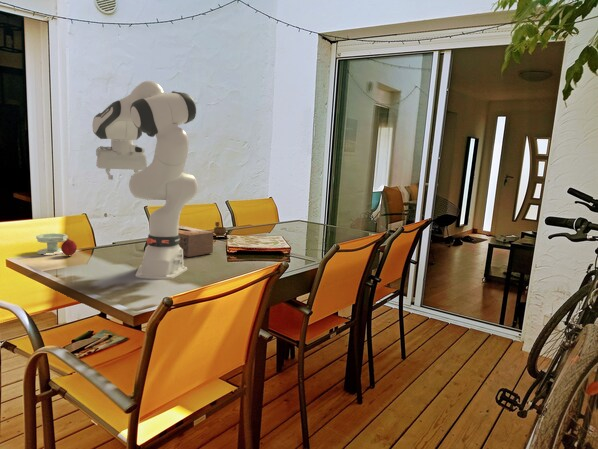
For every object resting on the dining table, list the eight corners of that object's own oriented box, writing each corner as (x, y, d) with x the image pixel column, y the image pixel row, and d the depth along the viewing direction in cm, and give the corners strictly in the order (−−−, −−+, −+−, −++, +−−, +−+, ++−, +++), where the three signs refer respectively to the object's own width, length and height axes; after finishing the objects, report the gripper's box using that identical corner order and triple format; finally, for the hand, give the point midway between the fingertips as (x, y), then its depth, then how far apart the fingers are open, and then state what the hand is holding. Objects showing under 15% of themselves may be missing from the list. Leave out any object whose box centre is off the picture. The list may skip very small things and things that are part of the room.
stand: (59, 256, 182) (58, 238, 181) (32, 254, 181) (31, 237, 180) (71, 250, 193) (71, 234, 192) (46, 249, 192) (45, 233, 191)
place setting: (201, 236, 248) (201, 226, 247) (215, 231, 268) (215, 221, 267) (229, 239, 245) (230, 228, 244) (241, 233, 264) (242, 224, 263)
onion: (79, 256, 183) (78, 238, 182) (64, 258, 179) (64, 239, 177) (73, 254, 187) (73, 236, 186) (59, 255, 183) (59, 237, 181)
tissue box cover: (212, 252, 207) (213, 232, 205) (188, 257, 195) (188, 235, 194) (178, 244, 222) (179, 224, 220) (154, 247, 210) (154, 227, 209)
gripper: (97, 146, 177) (98, 179, 179) (148, 149, 189) (147, 180, 191) (94, 145, 181) (94, 178, 184) (143, 148, 194) (143, 179, 196)
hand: (122, 179), depth 187 cm, fingers open, 8 cm apart
